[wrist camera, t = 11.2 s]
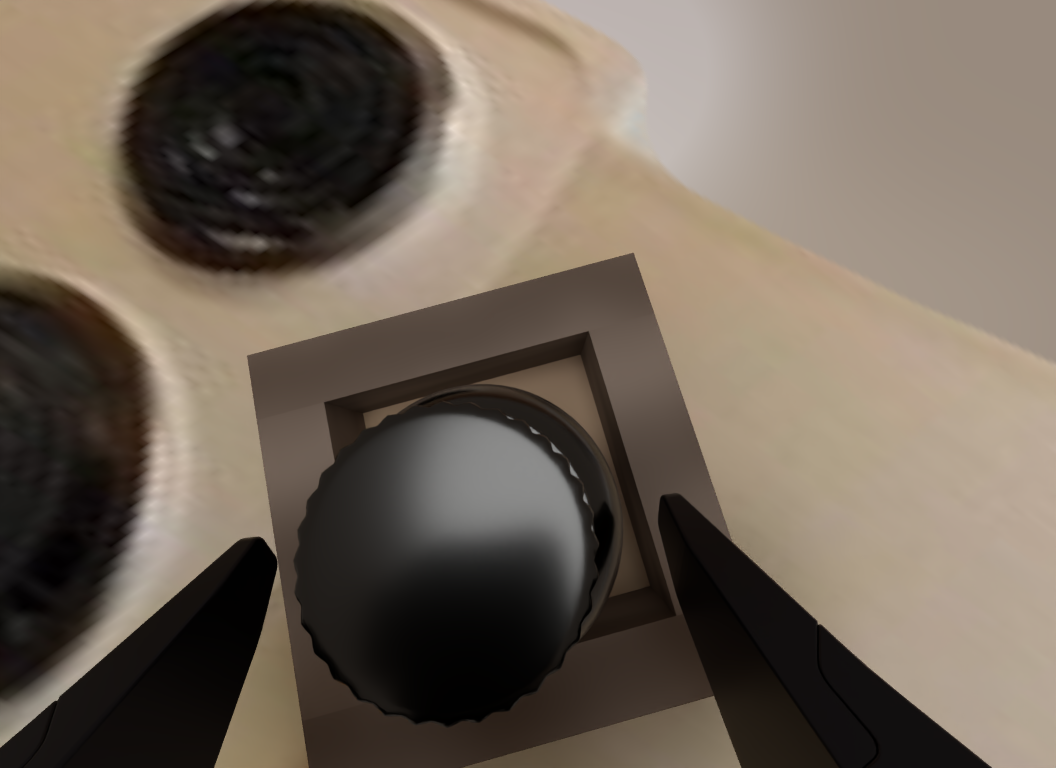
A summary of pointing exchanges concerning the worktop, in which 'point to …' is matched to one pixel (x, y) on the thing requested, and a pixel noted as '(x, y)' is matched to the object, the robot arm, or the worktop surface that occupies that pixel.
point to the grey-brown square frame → (582, 392)
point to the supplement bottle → (458, 553)
